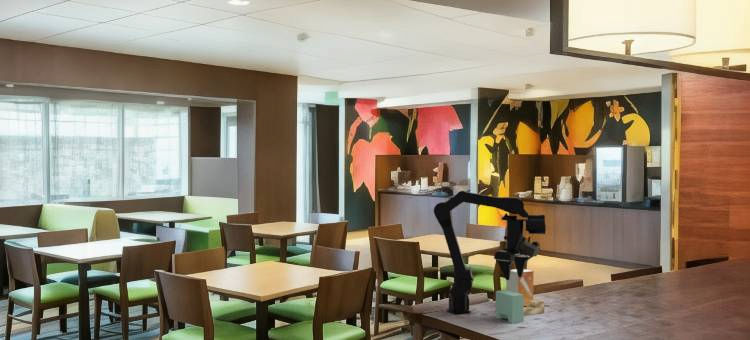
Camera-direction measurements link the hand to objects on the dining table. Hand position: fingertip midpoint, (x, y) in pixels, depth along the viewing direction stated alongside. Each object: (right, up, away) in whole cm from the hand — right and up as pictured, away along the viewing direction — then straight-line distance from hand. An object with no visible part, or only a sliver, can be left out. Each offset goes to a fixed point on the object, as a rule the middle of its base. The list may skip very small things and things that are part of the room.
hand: (513, 278), depth 225 cm
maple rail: (+5, -13, +2) cm, 13 cm away
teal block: (-3, -13, -8) cm, 15 cm away
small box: (+5, -13, +16) cm, 21 cm away
